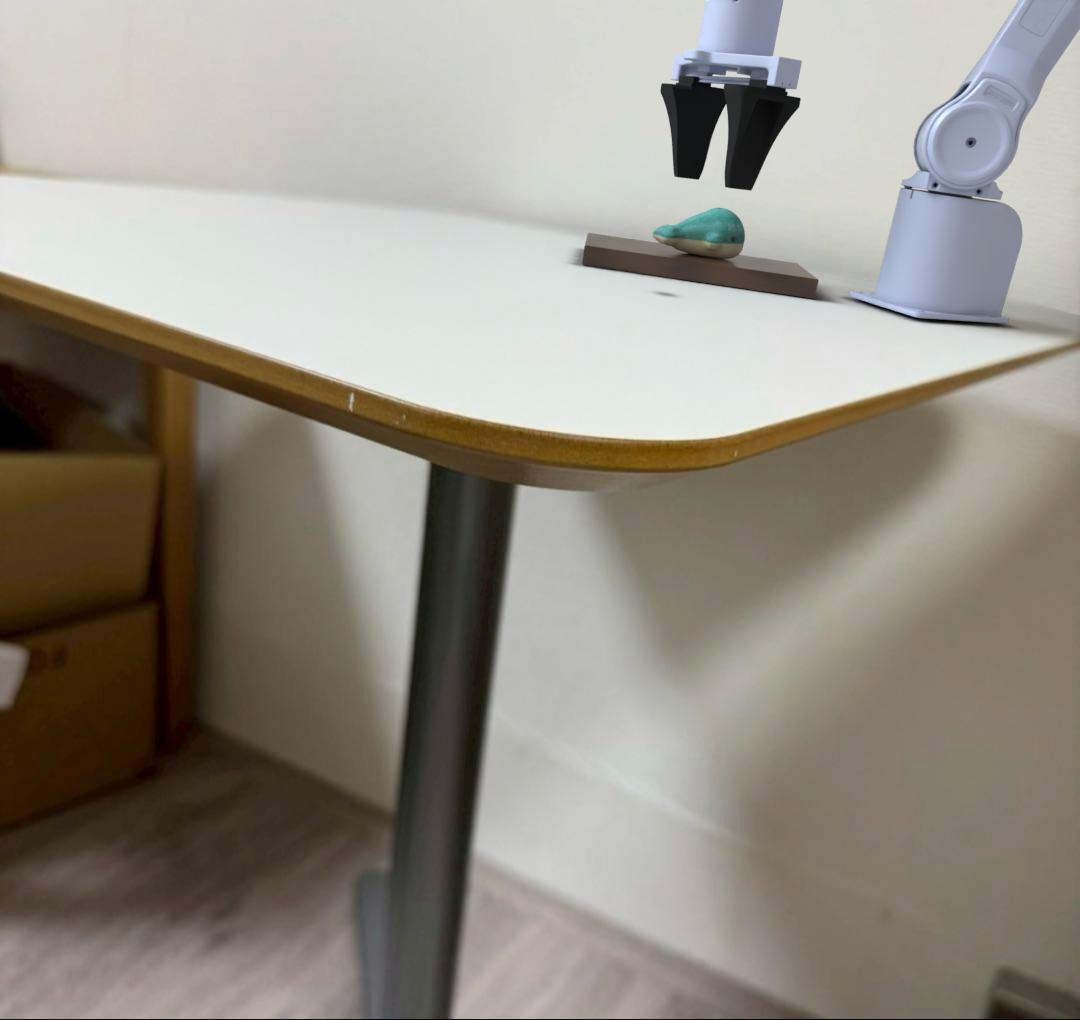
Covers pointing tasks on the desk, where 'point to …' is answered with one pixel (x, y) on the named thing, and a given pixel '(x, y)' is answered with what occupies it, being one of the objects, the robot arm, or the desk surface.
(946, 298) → the robot arm
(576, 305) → the desk surface
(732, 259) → the walnut board
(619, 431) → the desk surface
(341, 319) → the desk surface
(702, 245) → the whale figurine
